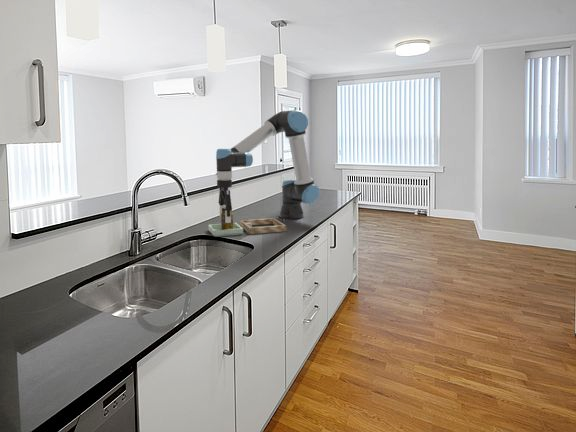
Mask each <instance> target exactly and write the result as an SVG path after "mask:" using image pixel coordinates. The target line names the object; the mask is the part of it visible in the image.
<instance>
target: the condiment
mask: <svg viewBox="0 0 576 432" xmlns="http://www.w3.org/2000/svg"><path fill="white" fill-rule="evenodd" d="M224 209H226V208H222V213H221V218H220V220H221V222H220V224H221V227H222V229H217V230H227V229H233V223H234V214H233V208H232V209H231V223H225V210H224Z"/></svg>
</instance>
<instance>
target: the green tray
mask: <svg viewBox="0 0 576 432" xmlns="http://www.w3.org/2000/svg"><path fill="white" fill-rule="evenodd" d="M217 229H222V227H221V223H213V224H211V223H210V224H208V231H209V233H210V234H211V233H212V234H211V235H212V236H213V237H214V238H215V237H216V238H217V237H223V236H224V237H225V236H227V237H228V236H240V235H244V229H243V228H242V227H241V226H240V224H238V223H237V222H233V229H227V230H217Z"/></svg>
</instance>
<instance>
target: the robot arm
mask: <svg viewBox="0 0 576 432" xmlns="http://www.w3.org/2000/svg"><path fill="white" fill-rule="evenodd" d="M308 126H309V119H308V117H307V115H306V113H304V112H303V111H301V110H297V109H296V110H295V109H293V110H292V109H290V110H282V111H279V112H277V113H276V114H274V115H273V116H271V117H269V118H268V119H267V120H265V121H264V123H263V125H262V126H260V127H259V128H258V129H256V130H255V131H253V132H252V133H251V134H249V135H248V136H246V137H245V138H243V140H241V141H240V142H238V143H237V144H235V145H234V146H233V147H231V148H218V149H216V153H215V155H216V156H215V159H216V172H215V175H216V179H217V180H216V186H217V188H218V190H219V194H218V204H219V218H220V219H221V213H222V208H226V209H224V210H225V223H231V209H232V210H233V208H232V207H233V206H232V205H233V204H232V199H231V190H230V189H229V188H232V187H233V180H232V179H233V171H232V169H233V168H242V167H243V168H249V167H250V166H252V164H253V161H254V158H253V154H252V153H251V152H252V151H253V150H255V148H257V147H259V146H260V145H261V144H263V143H264V142H265V141H266V140H268V139H269V138H271V137H275V136H277V135H278V134H280V133H284V135H285V138H287V139H288V143H289V148H290V152H291V153H290V154H291V160H292V164H293V170H294V175H295V179H287V180H283V182H282V186H281V188H282V196H281V197H282V201H281V203H282V204H281V207H280V210H279V212H278V213H279V217H280V218H283V219H288V220H289V219H293V220H294V219H302V218H304V215H305V214H304V211H303V206H302V203H303V204H309V205H311V204H314V203H315V202H317V200H318V198H319V197H320V196H319V195H320V188H319V187H318V186H317V185H316V184H315V181H314V178H313V177H311V173H310V167H309V166H310V165H309V160H308V155H307V149H306V148H307V147H306V143H305V135H306V134H307V133H306V130H307V128H308Z"/></svg>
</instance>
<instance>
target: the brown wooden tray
mask: <svg viewBox="0 0 576 432" xmlns="http://www.w3.org/2000/svg"><path fill="white" fill-rule="evenodd" d="M249 222H250V223H252V226H256V227H250V226H248V225H247V224H246V223H249ZM260 225H261V226H260ZM262 225H270V226H262ZM271 225H272V226H271ZM275 225H278V226H275ZM239 226H241V227H242V228H243V230H245V231H246V232H247V233H248V234H249V235H253V234H265V233H278V232H286V231H287V224H284V223H283V222H281V221H279V220H278V219H276V218H274V217H272V218H257V219H256V218H255V219H246V220H244V219H243V220H240V221H239Z"/></svg>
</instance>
